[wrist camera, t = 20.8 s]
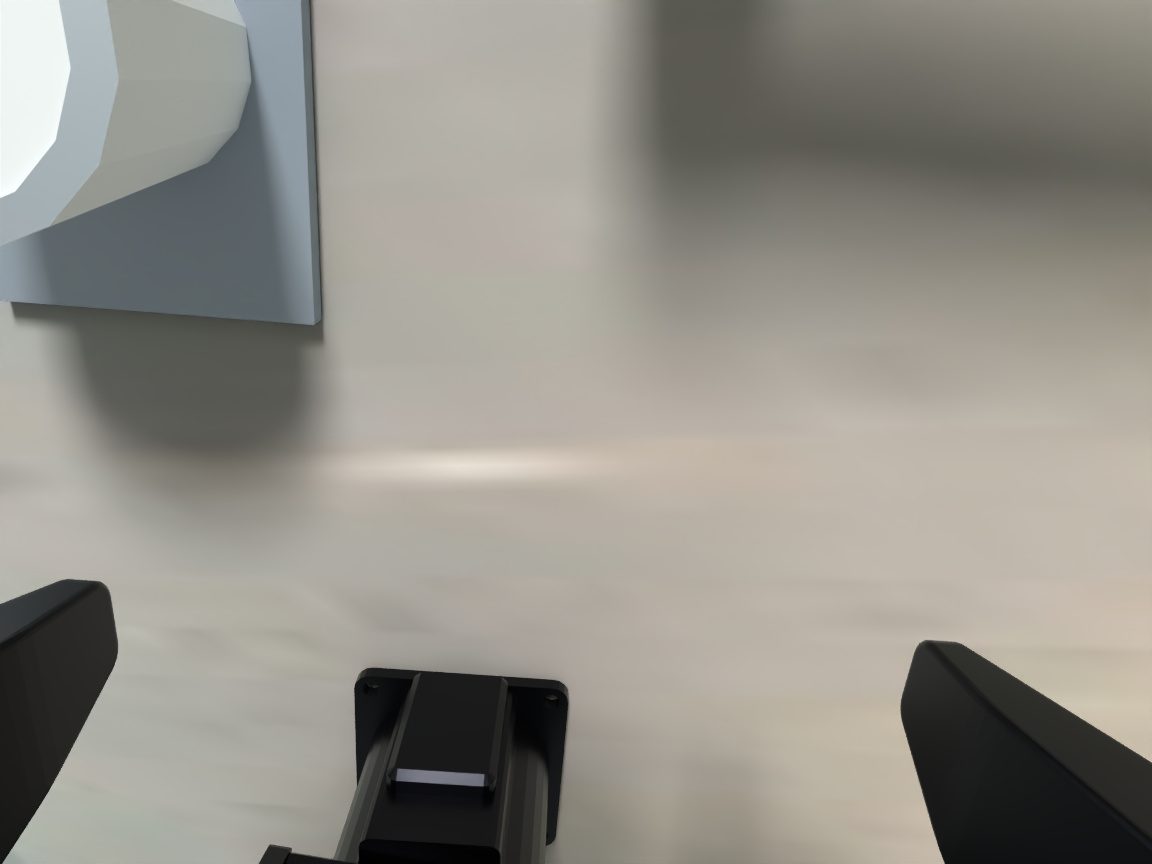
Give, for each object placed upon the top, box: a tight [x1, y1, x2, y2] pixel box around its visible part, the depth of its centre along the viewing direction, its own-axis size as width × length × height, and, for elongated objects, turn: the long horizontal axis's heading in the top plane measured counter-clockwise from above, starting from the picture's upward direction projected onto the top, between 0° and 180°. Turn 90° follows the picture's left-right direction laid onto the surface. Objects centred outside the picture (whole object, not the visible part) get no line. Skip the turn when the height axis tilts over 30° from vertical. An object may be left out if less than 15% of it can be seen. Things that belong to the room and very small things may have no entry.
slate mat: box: [0, 0, 321, 325], centre depth 18 cm, size 12×8×1 cm, turn 176°
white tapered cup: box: [0, 0, 252, 247], centre depth 15 cm, size 7×7×7 cm
